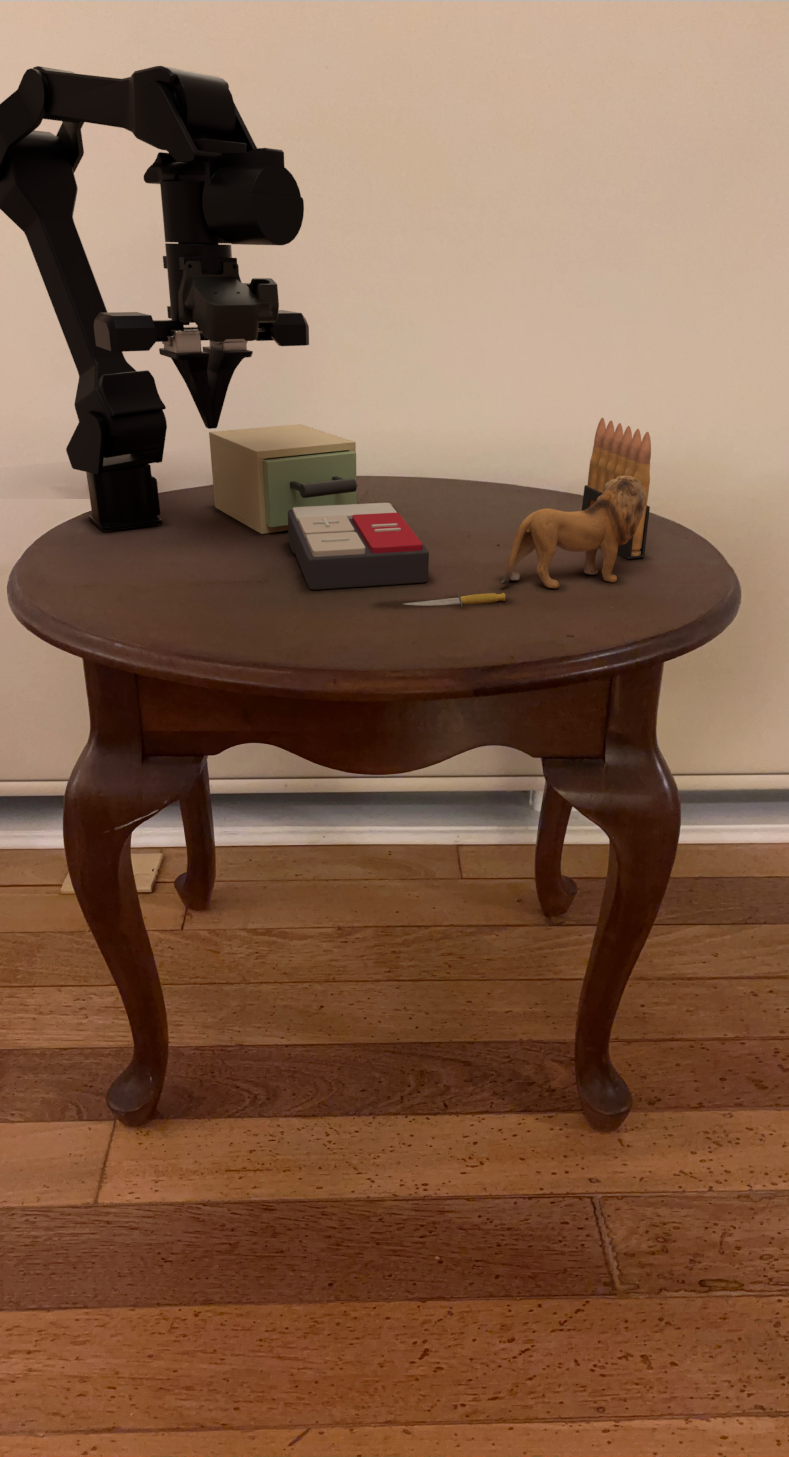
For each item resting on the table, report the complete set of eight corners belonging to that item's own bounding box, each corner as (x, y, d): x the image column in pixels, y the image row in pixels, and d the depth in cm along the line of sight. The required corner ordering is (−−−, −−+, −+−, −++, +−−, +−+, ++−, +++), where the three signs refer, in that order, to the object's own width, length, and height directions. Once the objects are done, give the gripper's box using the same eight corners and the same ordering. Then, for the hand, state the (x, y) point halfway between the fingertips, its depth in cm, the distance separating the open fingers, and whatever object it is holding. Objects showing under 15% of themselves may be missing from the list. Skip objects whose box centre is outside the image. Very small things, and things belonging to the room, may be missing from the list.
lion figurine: (614, 562, 90) (625, 468, 86) (650, 577, 86) (664, 479, 82) (485, 582, 85) (490, 482, 81) (517, 599, 80) (524, 495, 76)
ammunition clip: (644, 558, 92) (661, 432, 86) (628, 559, 91) (643, 433, 86) (593, 531, 101) (606, 415, 95) (578, 532, 100) (589, 416, 95)
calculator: (308, 550, 80) (286, 501, 93) (309, 597, 82) (288, 543, 95) (430, 543, 82) (393, 496, 95) (428, 589, 85) (392, 537, 97)
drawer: (375, 523, 99) (375, 459, 96) (287, 536, 95) (284, 468, 91) (307, 493, 112) (305, 434, 109) (226, 503, 107) (221, 442, 104)
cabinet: (356, 520, 104) (355, 441, 100) (261, 534, 99) (256, 451, 95) (303, 496, 114) (300, 423, 111) (214, 507, 109) (208, 431, 105)
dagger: (384, 609, 78) (382, 596, 80) (385, 618, 79) (382, 605, 80) (508, 598, 79) (503, 586, 80) (508, 607, 79) (503, 595, 81)
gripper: (117, 242, 71) (139, 451, 78) (334, 246, 79) (336, 434, 87) (81, 241, 79) (104, 429, 87) (281, 245, 88) (287, 416, 95)
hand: (211, 427), depth 89 cm, fingers closed
